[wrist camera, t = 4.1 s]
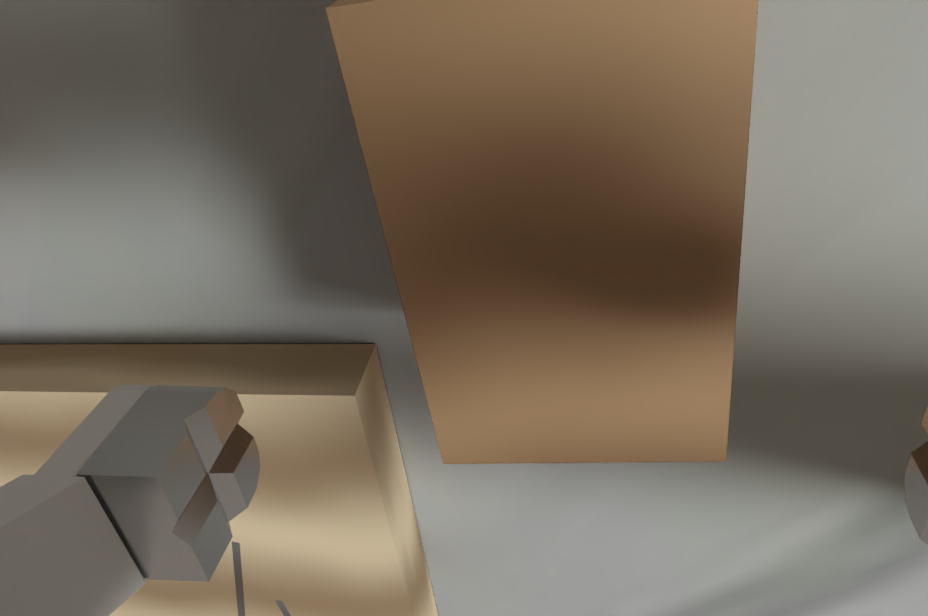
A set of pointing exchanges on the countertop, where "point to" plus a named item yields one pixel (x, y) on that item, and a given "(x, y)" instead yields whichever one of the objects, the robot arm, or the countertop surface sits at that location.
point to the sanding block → (561, 215)
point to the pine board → (280, 479)
